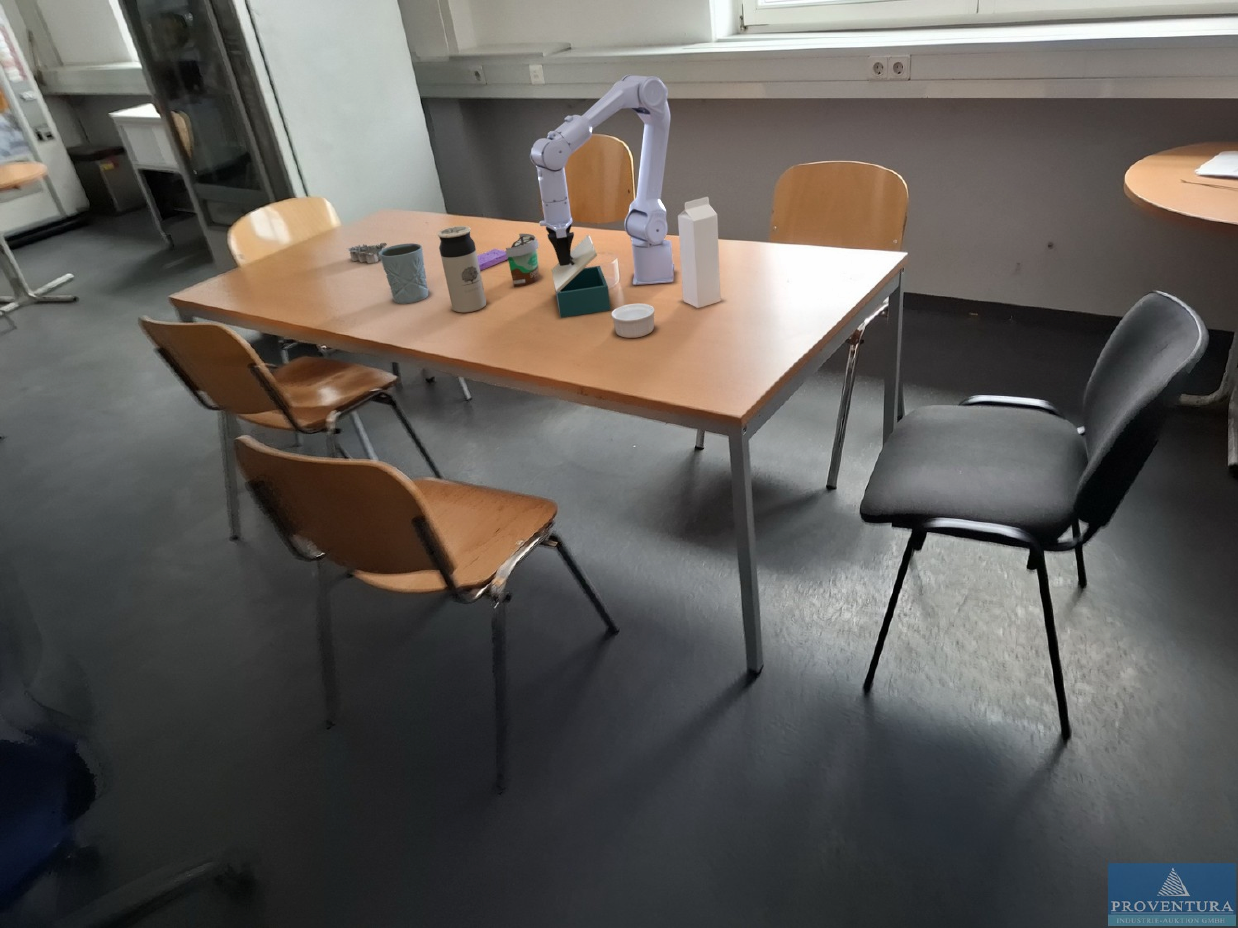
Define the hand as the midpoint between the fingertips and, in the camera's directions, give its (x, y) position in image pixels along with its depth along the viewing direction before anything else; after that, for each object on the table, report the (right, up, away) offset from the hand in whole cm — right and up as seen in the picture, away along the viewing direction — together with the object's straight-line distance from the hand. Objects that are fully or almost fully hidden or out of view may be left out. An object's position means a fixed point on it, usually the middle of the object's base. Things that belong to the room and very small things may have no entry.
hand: (563, 261), depth 181 cm
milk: (+30, -9, -1) cm, 32 cm away
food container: (-10, +1, +23) cm, 25 cm away
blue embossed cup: (-39, -4, +21) cm, 44 cm away
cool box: (+4, -8, +5) cm, 11 cm away
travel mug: (-23, -8, +11) cm, 26 cm away
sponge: (-23, +9, +38) cm, 46 cm away
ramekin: (+15, -17, -12) cm, 26 cm away
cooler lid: (+2, 0, +1) cm, 2 cm away
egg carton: (-59, +14, +53) cm, 81 cm away
